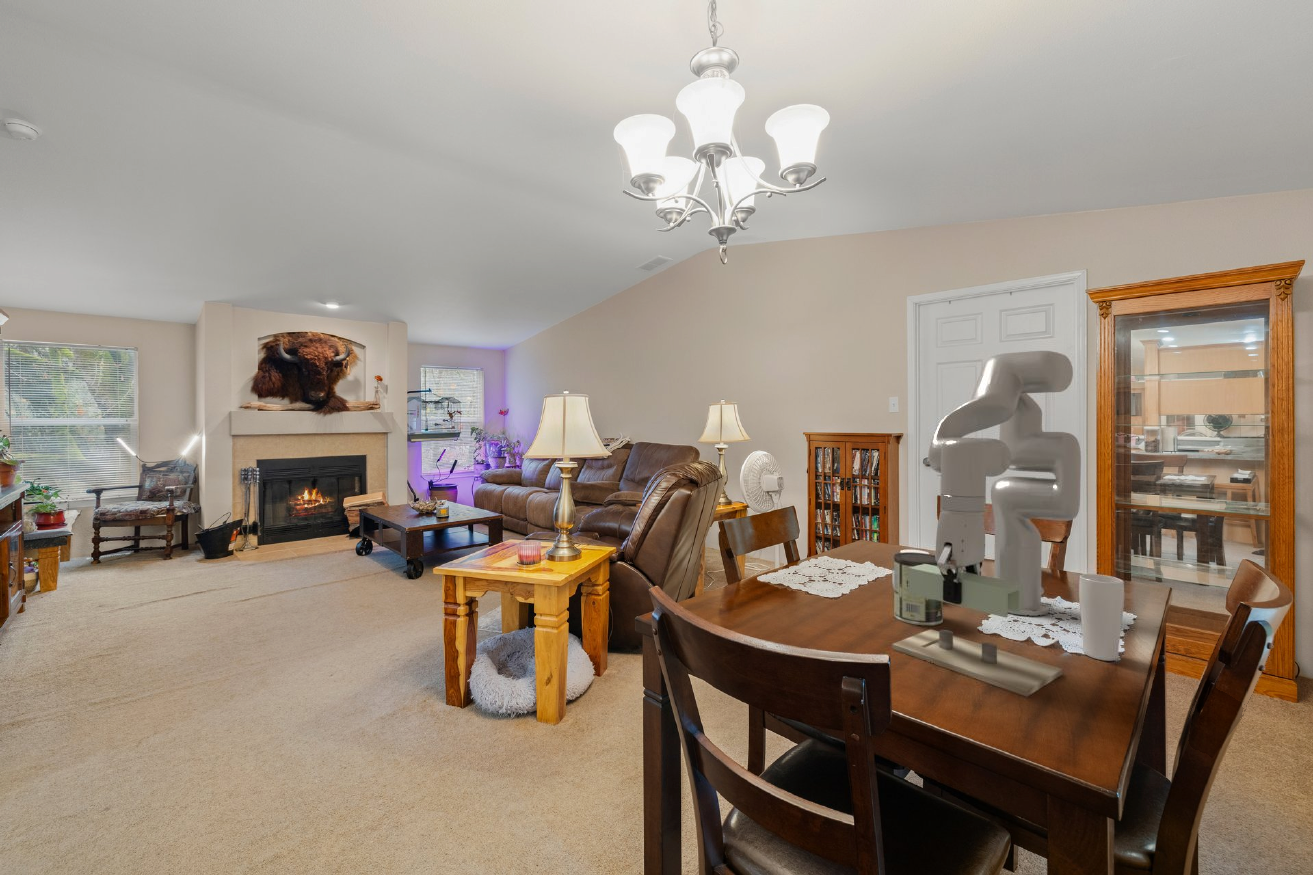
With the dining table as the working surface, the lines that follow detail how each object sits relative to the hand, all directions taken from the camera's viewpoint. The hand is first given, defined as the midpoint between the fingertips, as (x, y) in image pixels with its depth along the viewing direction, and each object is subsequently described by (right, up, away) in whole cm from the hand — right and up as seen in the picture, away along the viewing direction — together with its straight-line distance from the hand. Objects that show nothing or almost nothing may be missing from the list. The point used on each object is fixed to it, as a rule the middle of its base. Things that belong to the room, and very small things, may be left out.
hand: (961, 598), depth 107 cm
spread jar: (+7, -11, +36) cm, 38 cm away
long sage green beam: (0, -1, 0) cm, 1 cm away
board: (+1, -11, -1) cm, 12 cm away
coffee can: (+2, -11, +22) cm, 25 cm away
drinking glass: (+27, -11, +1) cm, 29 cm away
